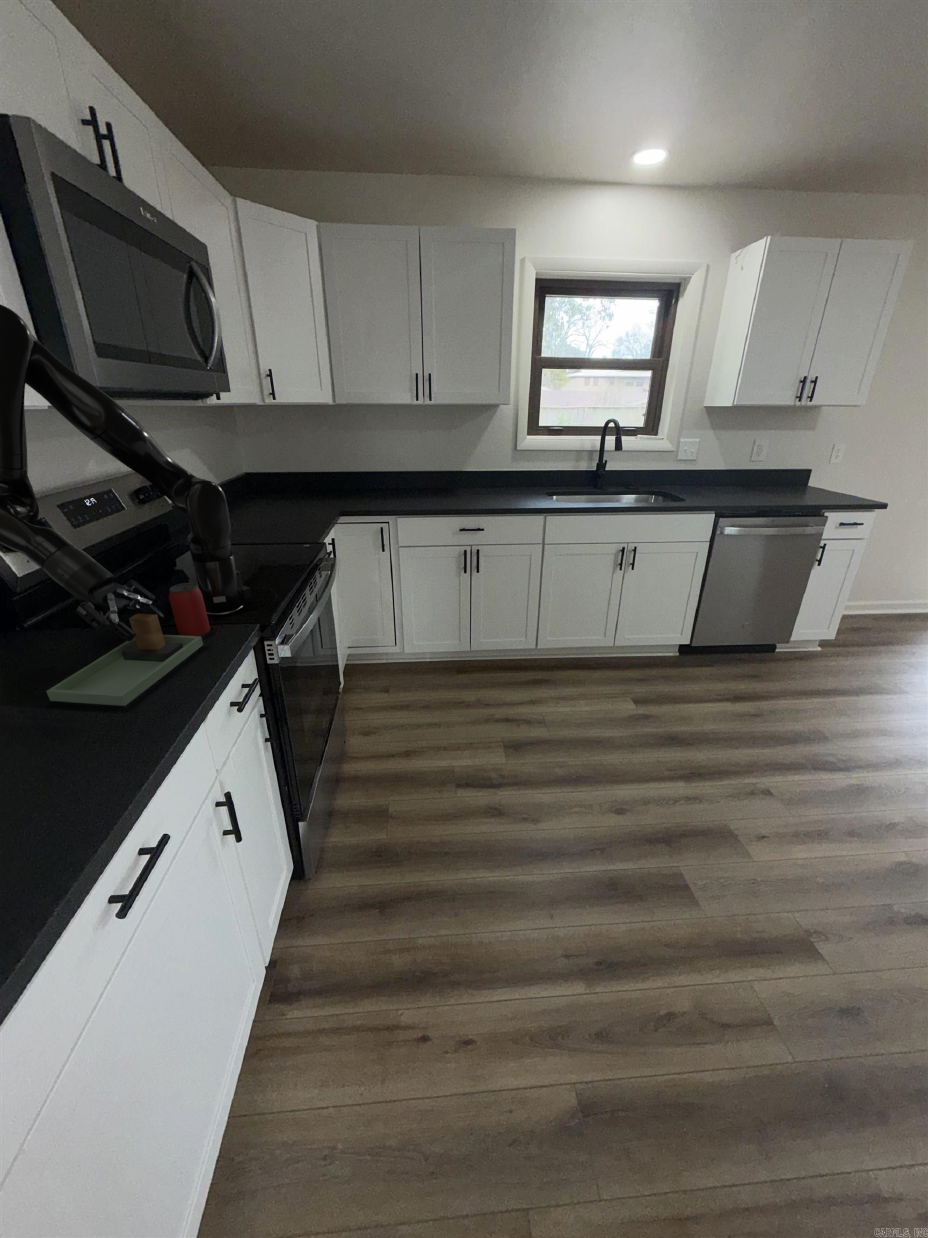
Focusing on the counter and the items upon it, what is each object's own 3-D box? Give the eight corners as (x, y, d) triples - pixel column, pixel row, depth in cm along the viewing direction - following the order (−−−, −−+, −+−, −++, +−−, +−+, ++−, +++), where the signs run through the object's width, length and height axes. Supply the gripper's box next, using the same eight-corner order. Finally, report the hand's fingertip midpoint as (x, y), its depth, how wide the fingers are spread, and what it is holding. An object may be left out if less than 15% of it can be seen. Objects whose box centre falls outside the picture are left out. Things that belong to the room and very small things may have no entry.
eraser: (124, 659, 102) (111, 620, 99) (140, 648, 107) (129, 610, 103) (169, 662, 101) (157, 622, 98) (184, 651, 106) (174, 612, 102)
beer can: (198, 642, 112) (186, 593, 107) (173, 640, 113) (159, 591, 108) (217, 630, 117) (206, 582, 113) (192, 627, 119) (181, 580, 114)
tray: (142, 645, 111) (139, 633, 109) (204, 648, 109) (201, 636, 108) (51, 705, 89) (45, 691, 88) (126, 710, 88) (121, 696, 87)
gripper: (56, 573, 90) (131, 633, 94) (115, 551, 103) (179, 604, 107) (40, 599, 93) (114, 656, 96) (99, 574, 106) (162, 625, 109)
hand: (148, 628), depth 102 cm, fingers open, 8 cm apart
